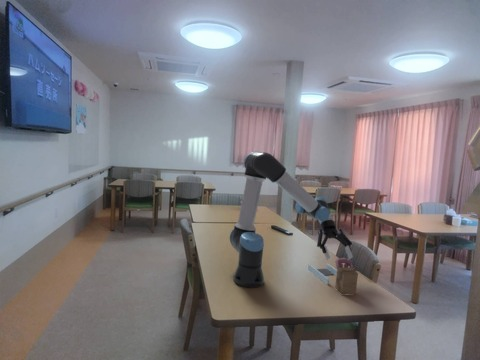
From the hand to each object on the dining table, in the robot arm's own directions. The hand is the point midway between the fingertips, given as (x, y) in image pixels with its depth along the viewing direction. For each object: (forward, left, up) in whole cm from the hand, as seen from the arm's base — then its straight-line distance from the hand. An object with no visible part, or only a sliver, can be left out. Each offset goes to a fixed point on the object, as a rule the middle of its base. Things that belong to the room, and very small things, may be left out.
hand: (339, 258), depth 158 cm
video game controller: (+23, -7, -13) cm, 27 cm away
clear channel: (+7, +4, -13) cm, 15 cm away
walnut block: (-10, -2, -13) cm, 16 cm away
